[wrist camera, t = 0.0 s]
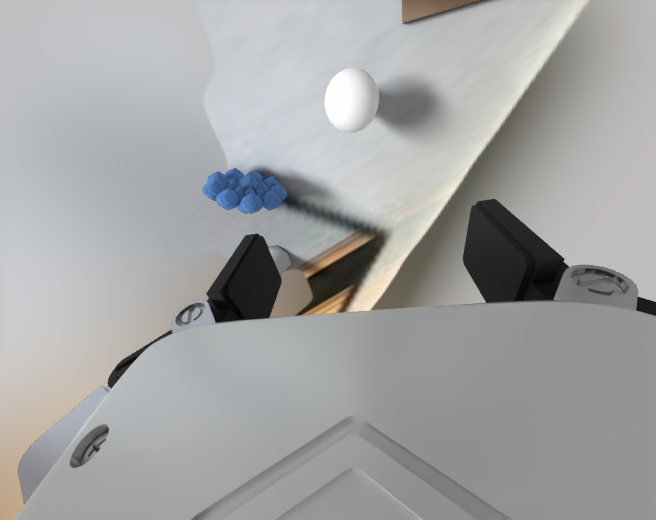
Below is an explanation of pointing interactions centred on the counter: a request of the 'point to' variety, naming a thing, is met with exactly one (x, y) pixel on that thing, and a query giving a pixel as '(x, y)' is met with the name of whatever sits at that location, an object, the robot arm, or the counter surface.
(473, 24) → the counter surface
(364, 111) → the lightbulb
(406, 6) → the coaster board
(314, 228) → the counter surface
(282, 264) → the flask
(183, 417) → the robot arm
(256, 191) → the grapes
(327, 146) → the counter surface
